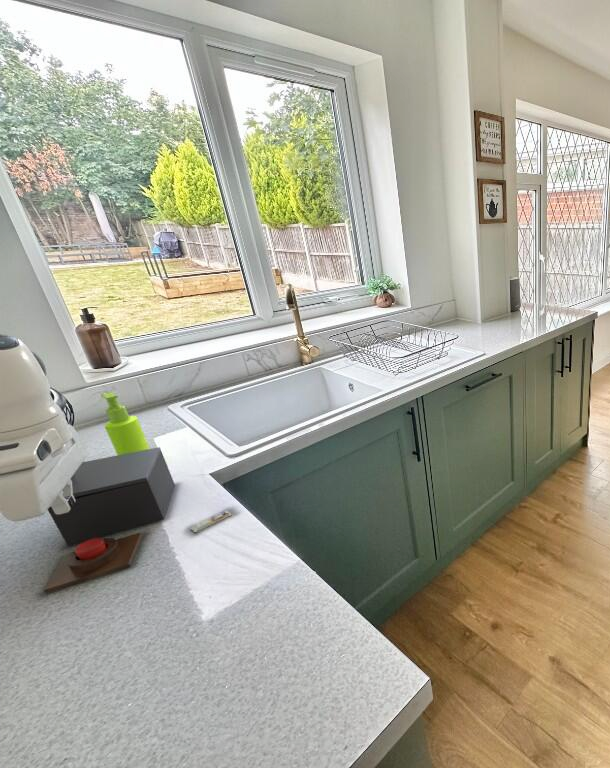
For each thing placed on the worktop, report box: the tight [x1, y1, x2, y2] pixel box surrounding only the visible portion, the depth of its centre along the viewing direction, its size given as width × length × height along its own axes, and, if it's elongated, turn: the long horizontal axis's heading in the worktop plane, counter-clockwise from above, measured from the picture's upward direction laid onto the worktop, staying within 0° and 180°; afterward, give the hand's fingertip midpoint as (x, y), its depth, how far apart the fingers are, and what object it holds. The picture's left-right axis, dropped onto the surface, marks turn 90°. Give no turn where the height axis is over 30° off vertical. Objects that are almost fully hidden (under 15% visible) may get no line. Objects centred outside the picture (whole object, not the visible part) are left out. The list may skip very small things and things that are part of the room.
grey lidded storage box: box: [47, 450, 176, 548], centre depth 85 cm, size 15×14×10 cm
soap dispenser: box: [100, 391, 151, 456], centre depth 100 cm, size 6×7×20 cm
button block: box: [43, 532, 143, 595], centre depth 74 cm, size 11×9×3 cm
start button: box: [74, 537, 106, 560], centre depth 73 cm, size 4×4×2 cm
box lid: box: [71, 446, 162, 497], centre depth 82 cm, size 15×14×5 cm
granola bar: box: [189, 510, 232, 533], centre depth 84 cm, size 7×2×1 cm, turn 142°
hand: (66, 508), depth 70 cm, fingers closed
